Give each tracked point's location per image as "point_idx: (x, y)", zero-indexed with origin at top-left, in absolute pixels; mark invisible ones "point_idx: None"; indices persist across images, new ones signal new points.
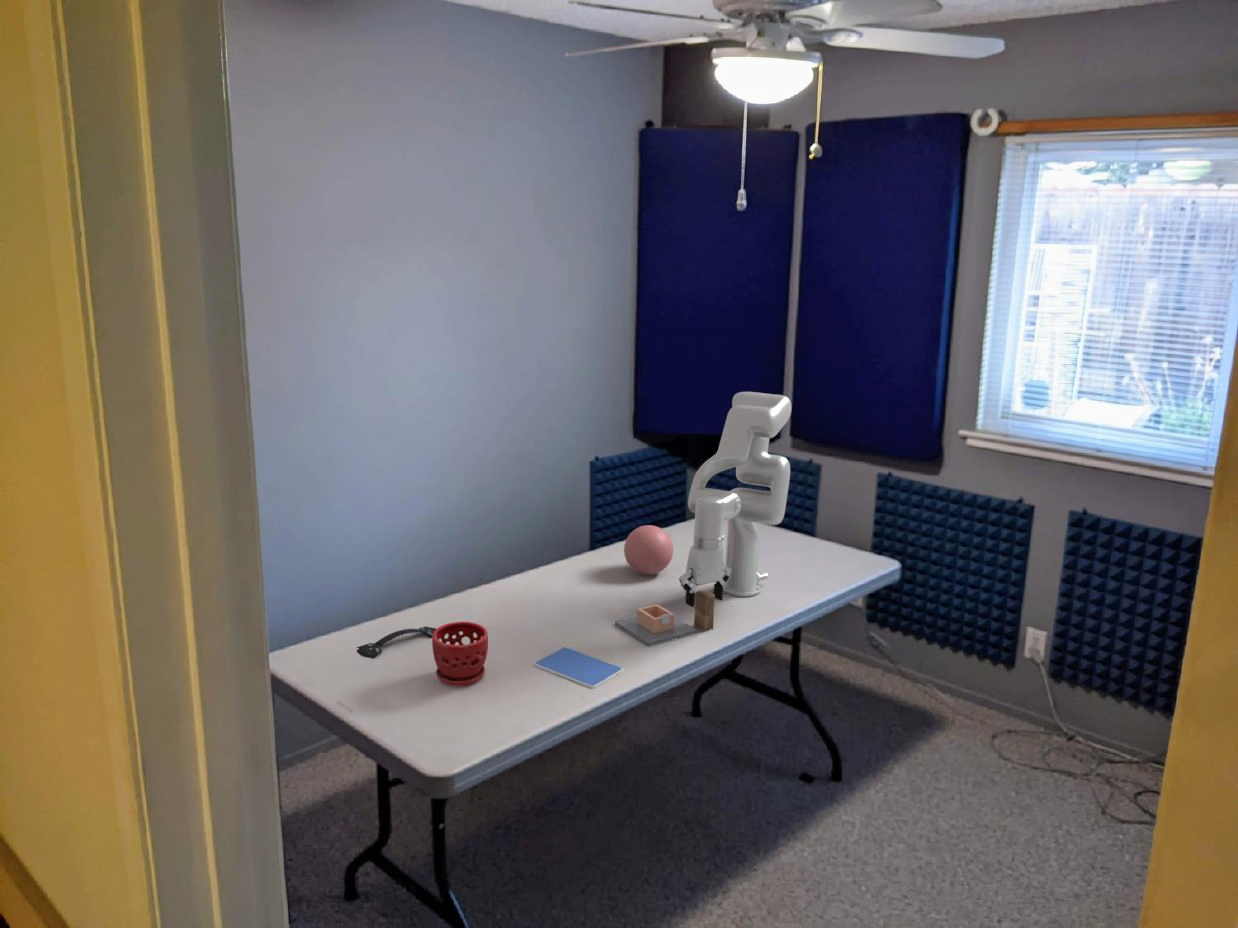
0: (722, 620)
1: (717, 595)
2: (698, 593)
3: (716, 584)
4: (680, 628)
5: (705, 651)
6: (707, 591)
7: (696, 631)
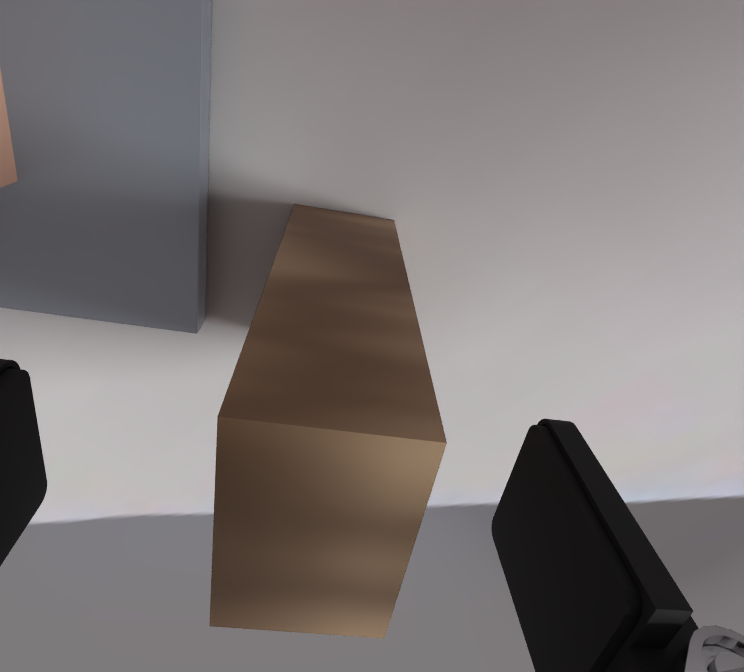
0: (564, 290)
1: (521, 528)
2: (215, 477)
3: (625, 658)
4: (76, 227)
5: (76, 514)
6: (411, 518)
7: (199, 325)
